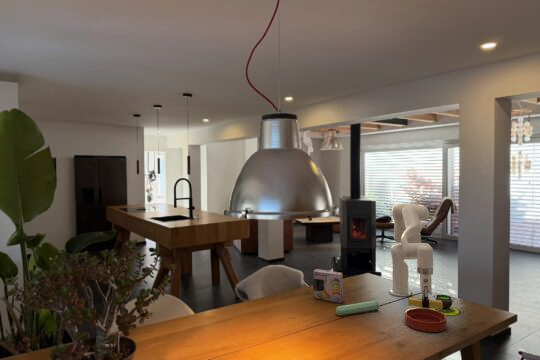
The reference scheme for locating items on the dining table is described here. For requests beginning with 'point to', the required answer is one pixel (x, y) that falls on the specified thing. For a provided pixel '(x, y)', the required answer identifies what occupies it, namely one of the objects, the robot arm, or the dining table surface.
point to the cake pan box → (328, 285)
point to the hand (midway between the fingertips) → (425, 305)
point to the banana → (432, 303)
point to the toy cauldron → (446, 305)
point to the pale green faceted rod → (357, 308)
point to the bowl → (425, 319)
